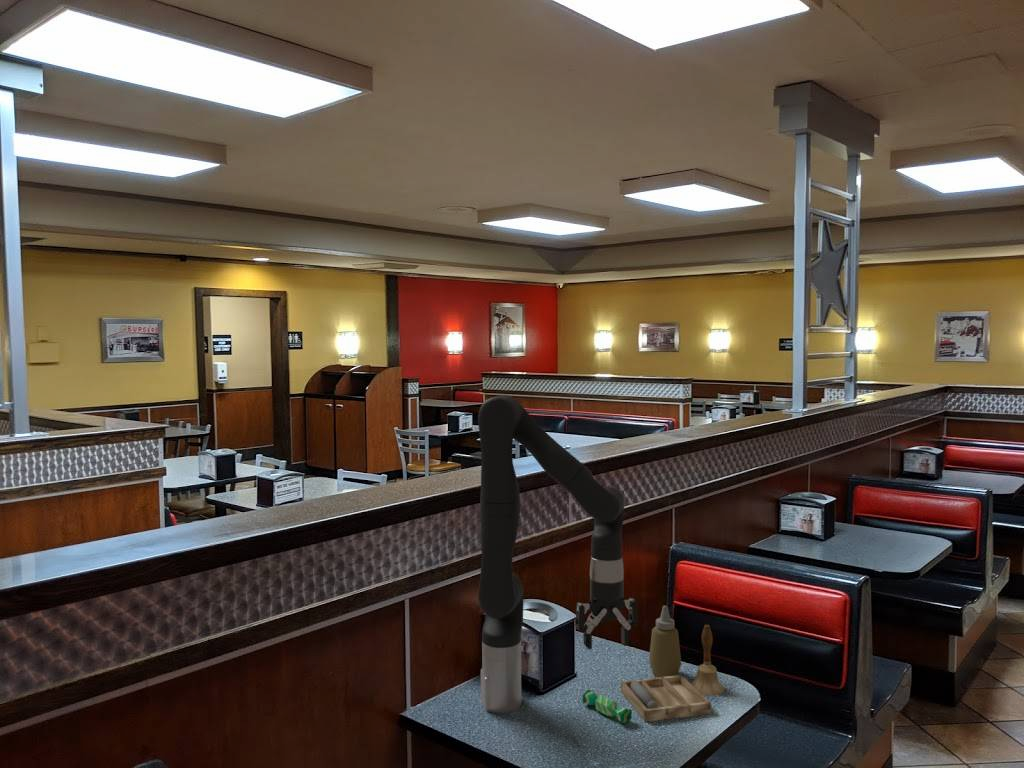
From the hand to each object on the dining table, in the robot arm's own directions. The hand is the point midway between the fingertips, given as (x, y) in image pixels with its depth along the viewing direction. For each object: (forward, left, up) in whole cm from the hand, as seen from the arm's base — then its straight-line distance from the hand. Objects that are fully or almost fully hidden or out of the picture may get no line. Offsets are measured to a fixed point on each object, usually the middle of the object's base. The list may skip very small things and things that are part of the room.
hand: (606, 646), depth 170 cm
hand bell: (+28, +6, -16) cm, 33 cm away
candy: (0, 0, -16) cm, 16 cm away
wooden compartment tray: (+15, +2, -16) cm, 22 cm away
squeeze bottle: (+21, +15, -16) cm, 30 cm away
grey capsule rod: (+10, +2, -15) cm, 18 cm away
